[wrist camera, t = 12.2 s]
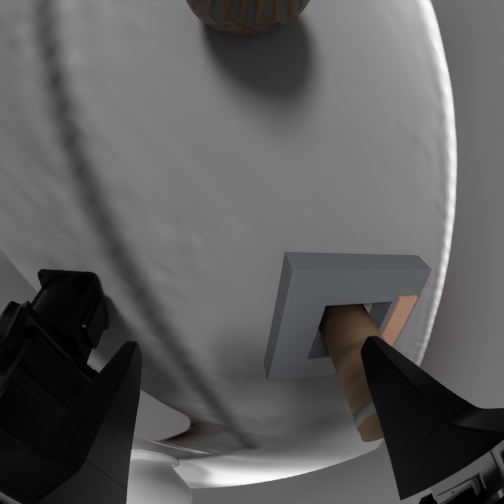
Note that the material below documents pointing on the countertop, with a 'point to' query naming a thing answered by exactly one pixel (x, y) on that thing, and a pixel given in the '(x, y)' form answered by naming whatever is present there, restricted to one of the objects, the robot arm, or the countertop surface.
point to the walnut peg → (352, 361)
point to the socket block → (336, 293)
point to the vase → (247, 14)
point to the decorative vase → (155, 480)
